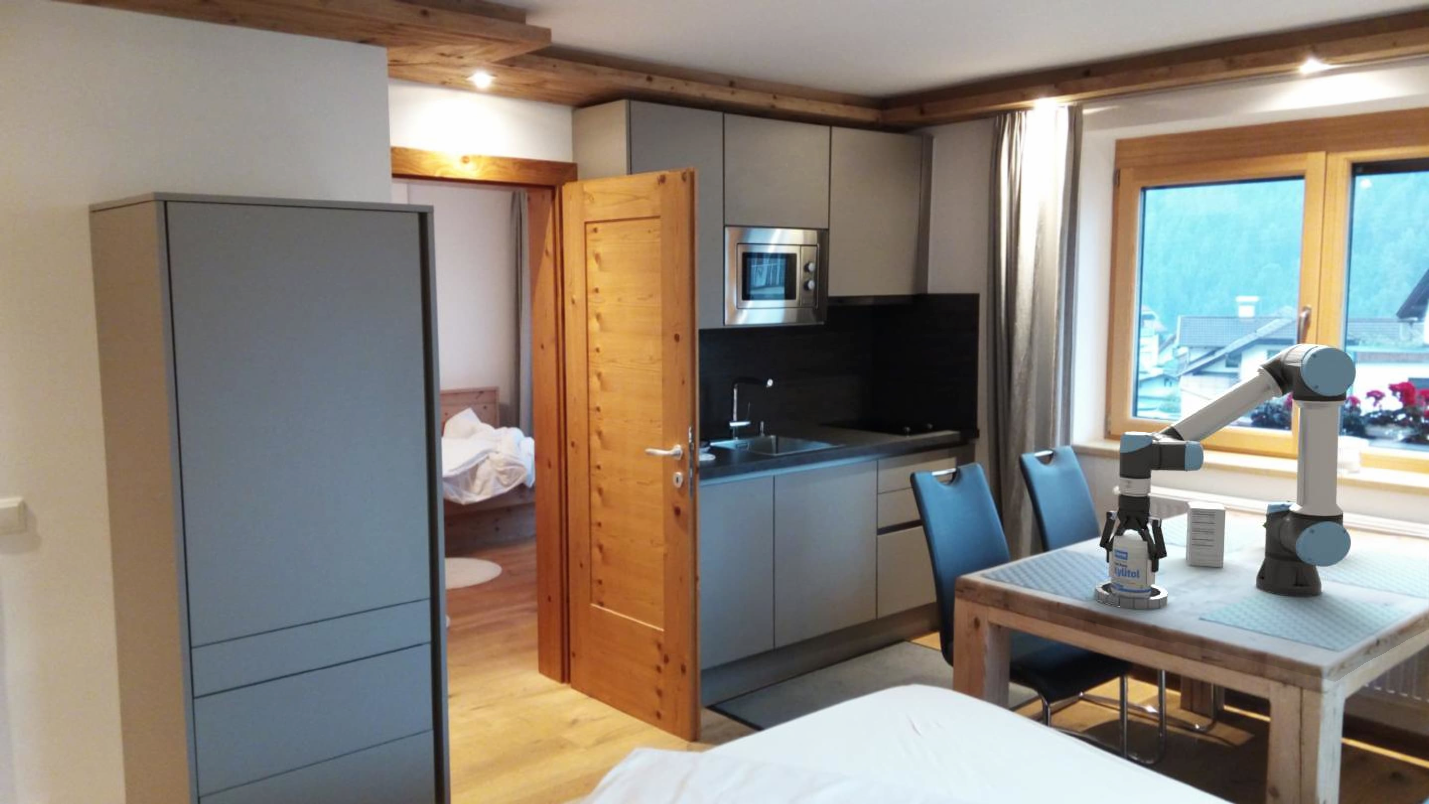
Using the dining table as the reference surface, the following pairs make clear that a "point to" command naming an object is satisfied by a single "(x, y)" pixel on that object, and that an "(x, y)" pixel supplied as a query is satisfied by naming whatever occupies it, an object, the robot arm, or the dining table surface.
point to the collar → (1134, 603)
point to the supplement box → (1205, 534)
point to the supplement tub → (1130, 566)
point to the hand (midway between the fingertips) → (1131, 580)
